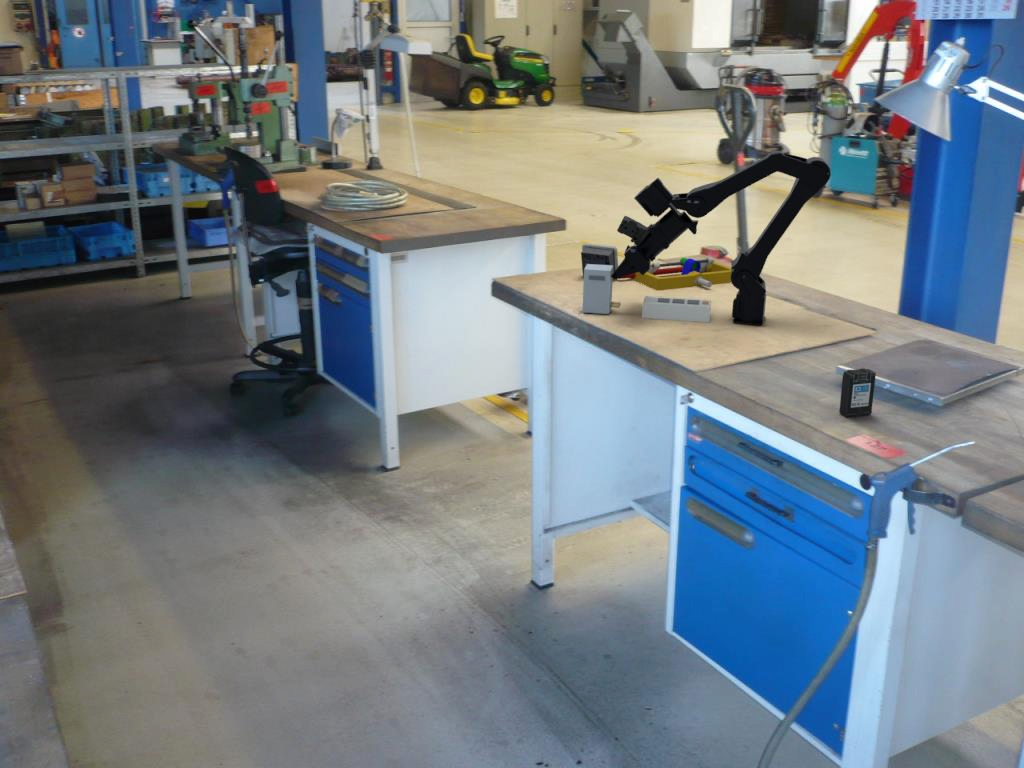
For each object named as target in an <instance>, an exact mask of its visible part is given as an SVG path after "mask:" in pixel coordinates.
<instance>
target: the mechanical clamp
mask: <svg viewBox="0 0 1024 768" xmlns="http://www.w3.org/2000/svg"><path fill="white" fill-rule="evenodd" d="M673 266H675V267H673ZM676 266H677V267H676ZM662 267H663V268H662ZM664 267H666V268H664ZM667 267H668V268H667ZM680 273H681V274H680ZM672 274H680V275H672ZM659 275H660V276H659ZM661 275H670V276H661ZM621 279H622V280H623V279H629V280H631V281H634V282H637V283H638V282H639V283H638V284H641V283H642V284H641V285H643V284H644V286H645V285H646V286H645V287H647V288H650V289H652V288H653V289H652V290H655V291H666V290H667V291H668V290H675V289H684V288H685V289H686V288H693V287H694V286H695V287H700V286H701V287H702V286H703V287H707V288H709V289H710V288H711V287H712V286H713V285H721V284H722V283H723V284H728V283H730V282H731V267H730V266H727V265H724V264H722V263H719V262H717V261H715V259H714V257H706V258H705V259H698V260H697V259H693V258H686V257H682V258H680V259H679V261H677V262H667V263H659V262H653V263H651V264H650V269H649V270H648V271H647V272H646V273H645V274H644V275H642V274H640V272H637V273H633V274H630V275H627V276H624V277H621V278H618V279H617V280H621ZM695 287H694V288H695Z"/></svg>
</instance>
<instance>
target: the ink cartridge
mask: <svg viewBox="0 0 1024 768" xmlns="http://www.w3.org/2000/svg"><path fill="white" fill-rule="evenodd" d="M876 374H877V373H876V372H875V371H873V370H871V369H870V368H858V369H847V370H845V371H843V375H842V380H841V381H842V382H841V392H840V401H839V414H841V415H842V416H843V417H845V418H847V419H848V418H859V417H860V418H861V417H869V416H870V415H871V414H872V413H873V403H874V402H873V401H874V395H875V384H876Z"/></svg>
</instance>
